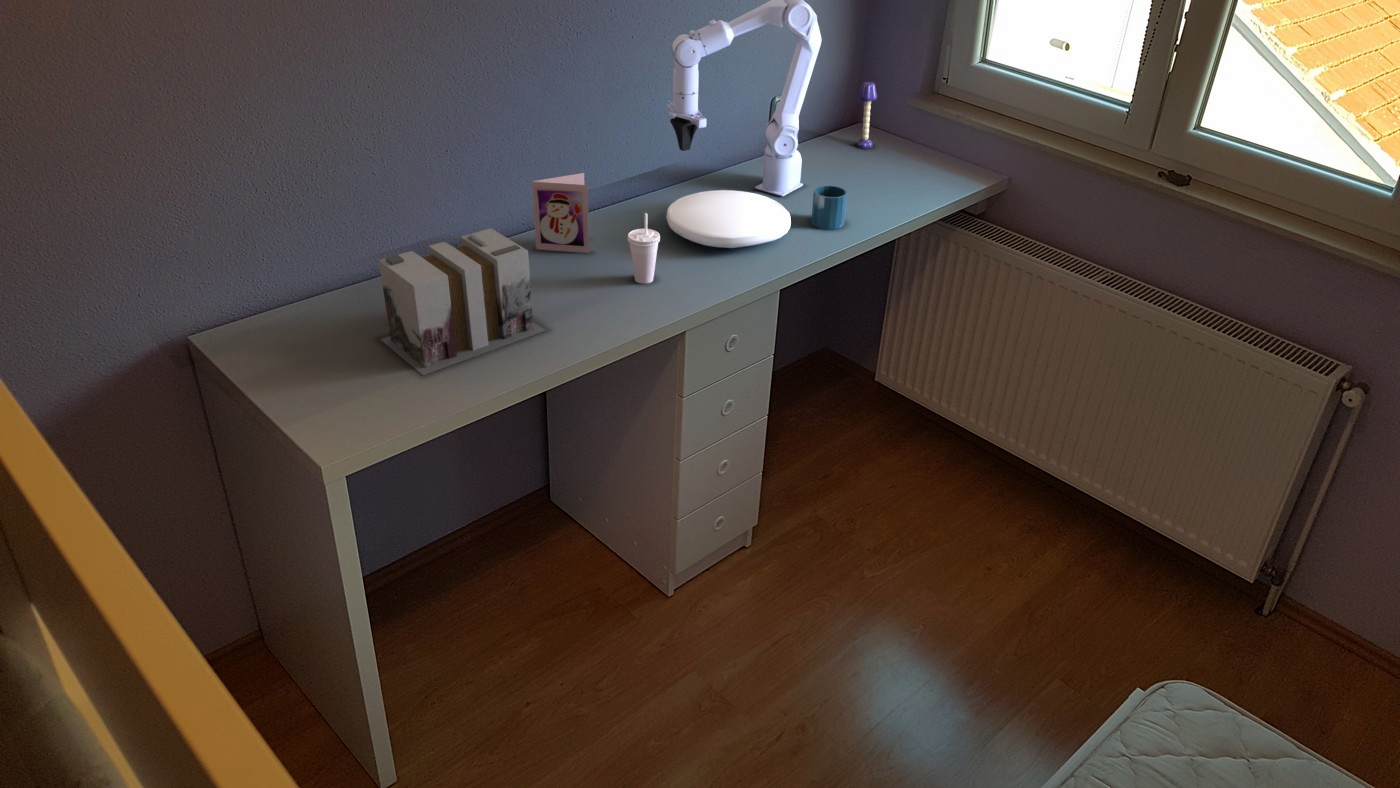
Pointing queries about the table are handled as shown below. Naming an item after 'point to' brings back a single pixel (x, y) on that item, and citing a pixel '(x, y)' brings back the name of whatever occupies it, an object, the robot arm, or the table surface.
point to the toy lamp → (866, 112)
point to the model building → (457, 300)
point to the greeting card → (561, 214)
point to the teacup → (829, 207)
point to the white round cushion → (728, 218)
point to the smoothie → (643, 252)
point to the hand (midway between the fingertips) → (684, 149)
